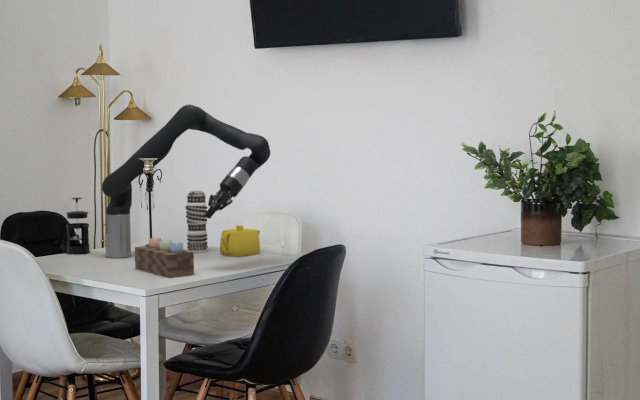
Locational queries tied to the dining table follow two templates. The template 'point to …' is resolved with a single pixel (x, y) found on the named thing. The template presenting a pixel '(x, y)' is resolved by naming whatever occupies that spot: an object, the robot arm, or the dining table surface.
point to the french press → (73, 247)
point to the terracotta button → (154, 242)
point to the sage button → (165, 245)
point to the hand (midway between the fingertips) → (206, 216)
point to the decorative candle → (196, 222)
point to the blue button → (176, 247)
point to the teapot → (239, 242)
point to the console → (164, 262)
